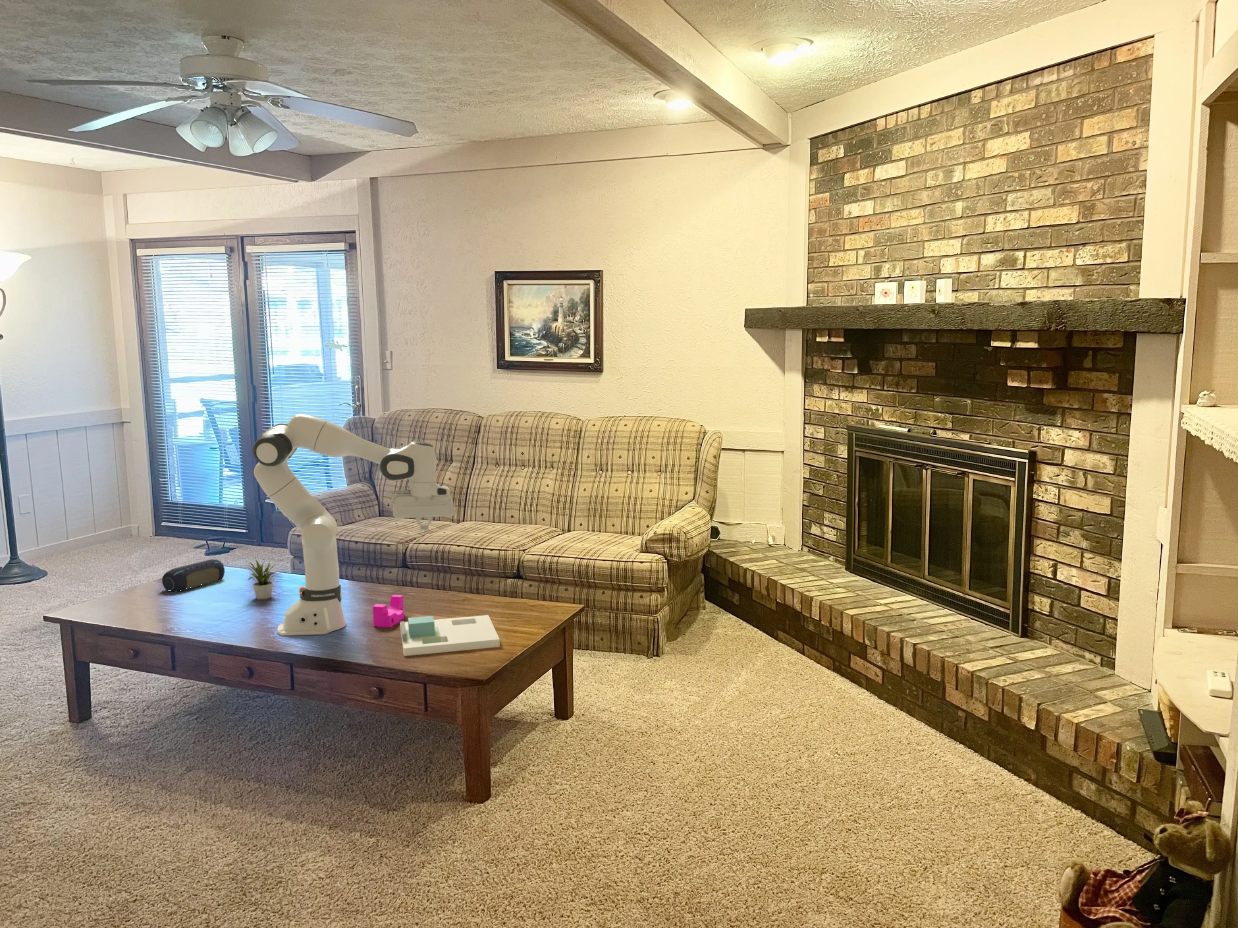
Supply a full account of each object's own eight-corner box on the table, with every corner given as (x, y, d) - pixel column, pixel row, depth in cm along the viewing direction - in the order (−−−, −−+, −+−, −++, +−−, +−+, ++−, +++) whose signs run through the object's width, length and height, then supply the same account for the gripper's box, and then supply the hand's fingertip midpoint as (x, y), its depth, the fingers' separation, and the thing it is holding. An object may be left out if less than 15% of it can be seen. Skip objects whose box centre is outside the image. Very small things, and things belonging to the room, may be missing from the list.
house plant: (232, 603, 351) (229, 561, 349) (254, 593, 365) (251, 553, 362) (266, 605, 348) (263, 562, 346) (287, 595, 361) (284, 554, 359)
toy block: (390, 628, 318) (389, 607, 317) (373, 627, 320) (372, 606, 319) (410, 616, 333) (409, 595, 332) (394, 614, 334) (393, 594, 333)
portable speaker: (176, 596, 362) (175, 571, 360) (160, 594, 366) (158, 569, 365) (230, 582, 384) (228, 558, 382) (213, 579, 388) (212, 556, 387)
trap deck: (403, 655, 289) (403, 640, 288) (400, 629, 316) (399, 615, 315) (499, 646, 297) (499, 631, 296) (488, 621, 324) (488, 607, 323)
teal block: (409, 637, 299) (409, 623, 299) (408, 631, 306) (408, 617, 305) (434, 635, 301) (434, 621, 301) (433, 628, 308) (432, 615, 308)
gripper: (391, 492, 305) (392, 533, 307) (454, 489, 310) (455, 530, 312) (391, 489, 311) (392, 529, 313) (452, 487, 316) (453, 526, 318)
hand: (424, 530), depth 313 cm, fingers closed
